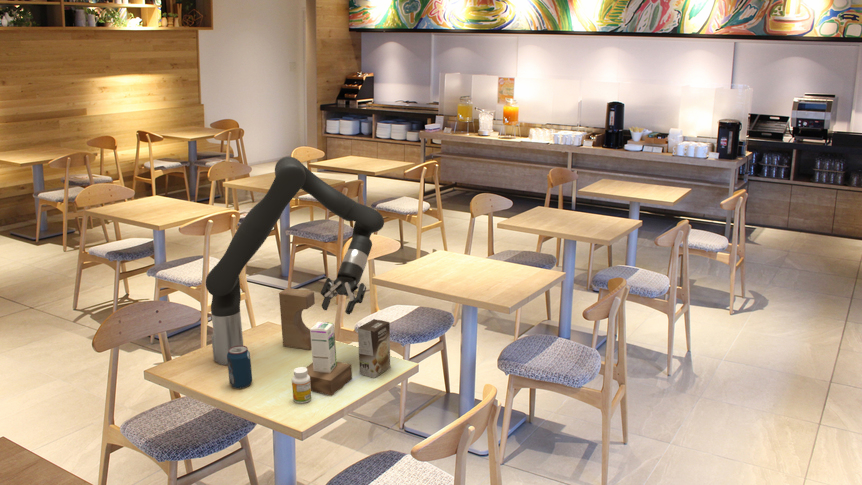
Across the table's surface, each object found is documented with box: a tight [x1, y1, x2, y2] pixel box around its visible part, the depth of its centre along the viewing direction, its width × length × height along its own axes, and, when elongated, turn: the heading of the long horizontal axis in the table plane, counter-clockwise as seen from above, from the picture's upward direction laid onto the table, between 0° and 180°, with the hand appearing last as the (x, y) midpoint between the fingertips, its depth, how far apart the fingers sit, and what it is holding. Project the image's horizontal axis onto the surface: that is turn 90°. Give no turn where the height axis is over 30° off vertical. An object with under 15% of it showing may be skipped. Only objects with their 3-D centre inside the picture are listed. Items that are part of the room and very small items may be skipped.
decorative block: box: [278, 287, 316, 351], centre depth 251 cm, size 11×6×20 cm, turn 68°
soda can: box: [227, 345, 253, 389], centre depth 224 cm, size 7×7×12 cm
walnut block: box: [305, 361, 353, 397], centre depth 225 cm, size 12×12×5 cm
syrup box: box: [309, 321, 338, 373], centre depth 223 cm, size 6×6×14 cm
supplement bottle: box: [291, 366, 312, 404], centre depth 215 cm, size 5×5×10 cm
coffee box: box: [357, 318, 391, 379], centre depth 232 cm, size 9×6×16 cm
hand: (335, 311), depth 227 cm, fingers open, 8 cm apart
